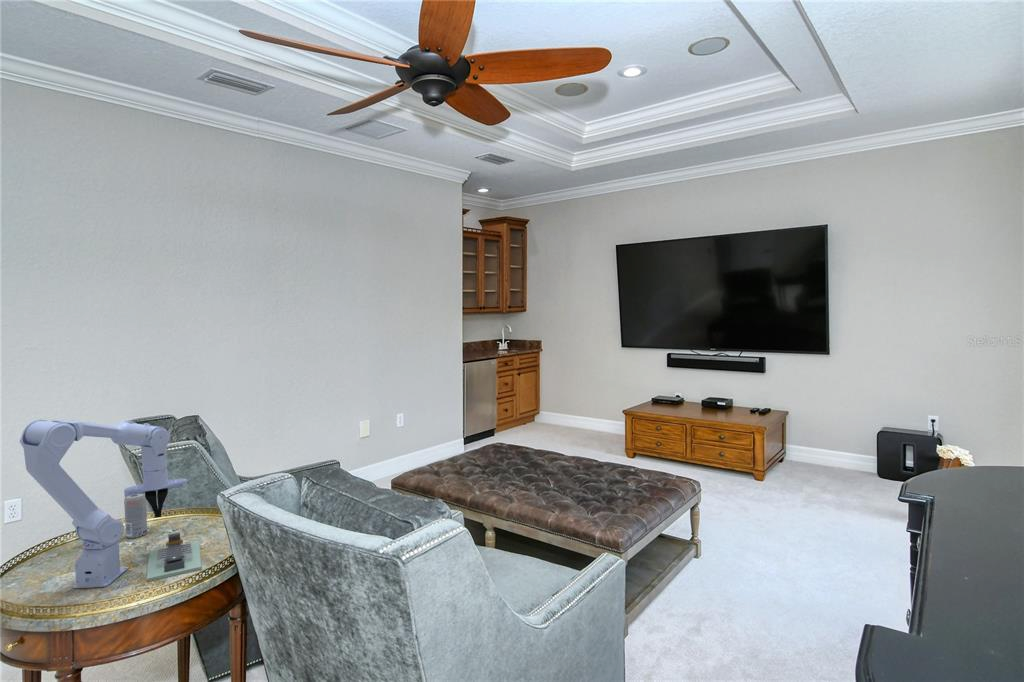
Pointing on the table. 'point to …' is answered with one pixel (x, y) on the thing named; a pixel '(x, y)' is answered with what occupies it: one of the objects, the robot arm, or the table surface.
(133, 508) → the energy drink
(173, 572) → the socket board
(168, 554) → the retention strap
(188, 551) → the heat sink
